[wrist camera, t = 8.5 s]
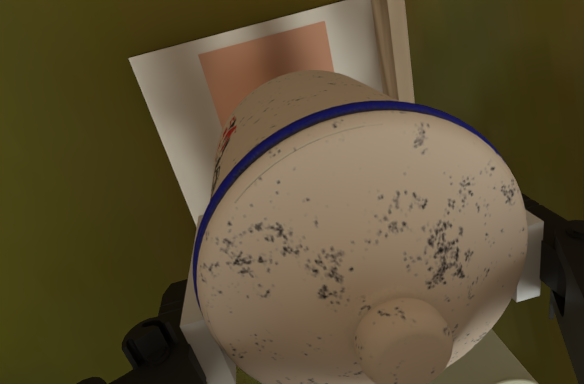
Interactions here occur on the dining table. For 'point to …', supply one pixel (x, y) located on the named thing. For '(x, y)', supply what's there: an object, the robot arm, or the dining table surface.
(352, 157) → the teacup with lid
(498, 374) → the can
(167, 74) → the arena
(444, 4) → the dining table surface
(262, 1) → the dining table surface
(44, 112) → the dining table surface
